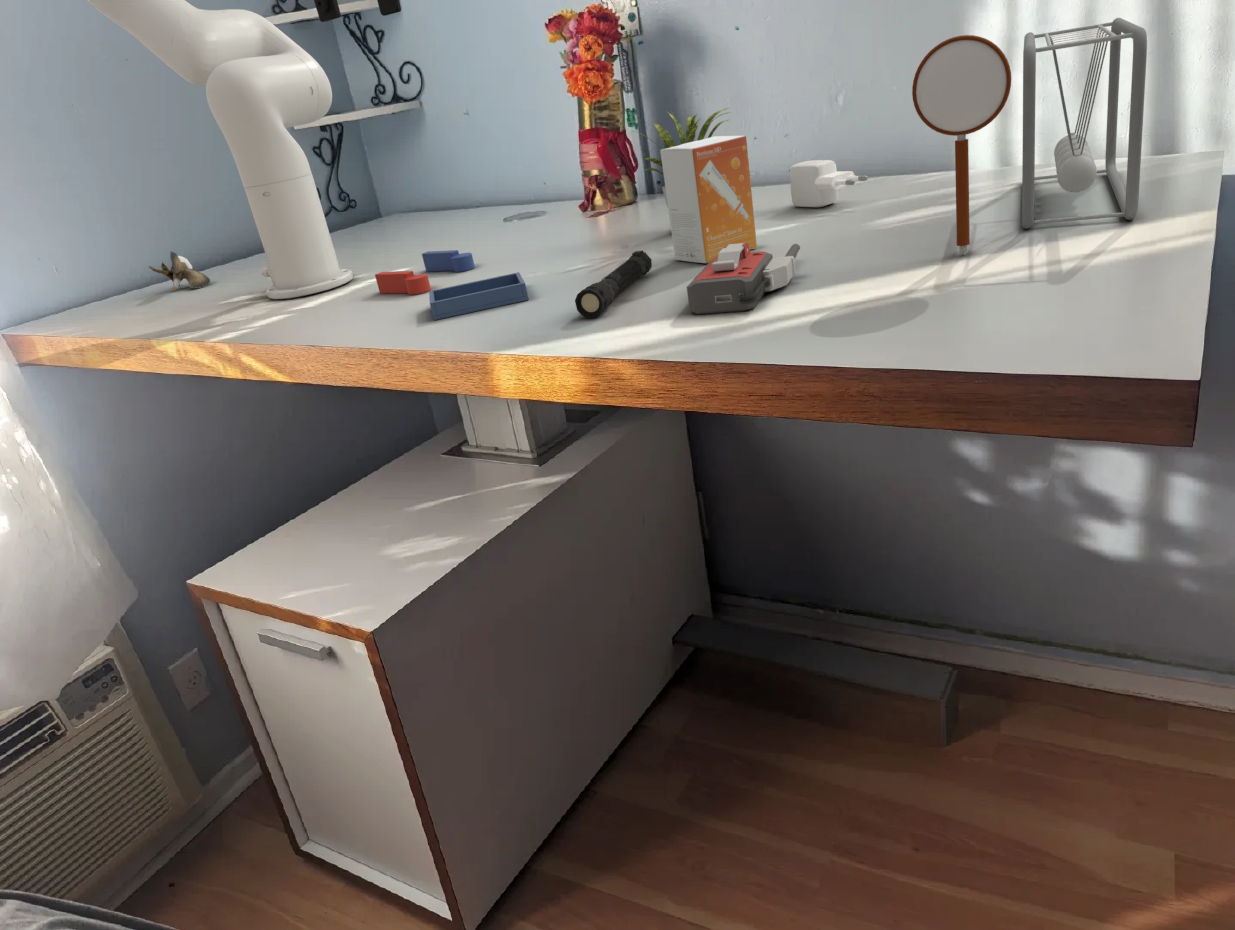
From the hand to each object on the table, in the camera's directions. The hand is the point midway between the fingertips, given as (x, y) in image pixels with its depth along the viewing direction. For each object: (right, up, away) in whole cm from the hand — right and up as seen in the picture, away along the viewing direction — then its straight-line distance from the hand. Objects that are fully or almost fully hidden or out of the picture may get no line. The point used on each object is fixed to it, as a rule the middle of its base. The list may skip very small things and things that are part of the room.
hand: (362, 16), depth 112 cm
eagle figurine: (-43, -24, +47) cm, 68 cm away
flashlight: (+31, -36, -11) cm, 49 cm away
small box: (+43, -29, -1) cm, 52 cm away
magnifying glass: (+65, -34, -20) cm, 76 cm away
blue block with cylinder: (+7, -27, +20) cm, 34 cm away
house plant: (+43, -22, +16) cm, 51 cm away
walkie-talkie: (+45, -36, -18) cm, 60 cm away
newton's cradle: (+83, -24, -6) cm, 87 cm away
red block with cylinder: (+3, -31, +11) cm, 33 cm away
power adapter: (+60, -19, +15) cm, 65 cm away
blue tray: (+15, -35, -3) cm, 38 cm away
